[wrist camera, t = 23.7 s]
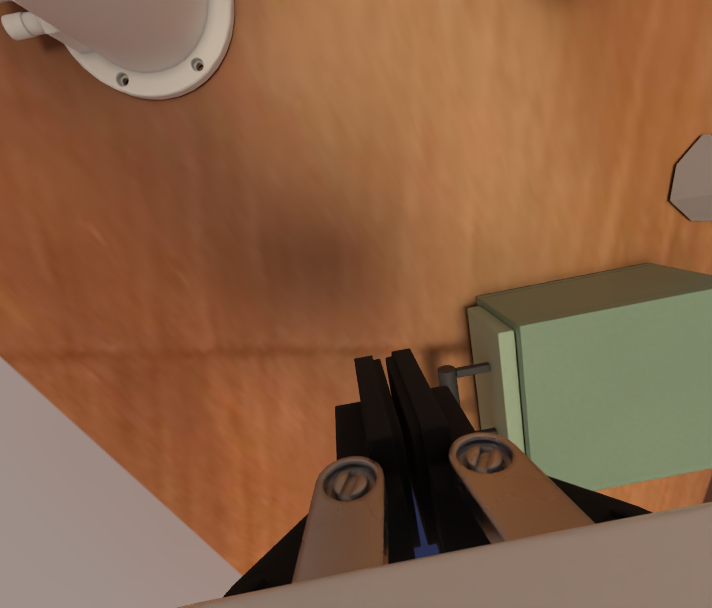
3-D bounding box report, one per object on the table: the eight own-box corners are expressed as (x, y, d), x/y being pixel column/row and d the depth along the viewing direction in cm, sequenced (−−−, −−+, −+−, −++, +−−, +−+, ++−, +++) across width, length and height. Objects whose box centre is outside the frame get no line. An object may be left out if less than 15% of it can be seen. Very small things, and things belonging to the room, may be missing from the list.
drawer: (440, 448, 37) (462, 500, 31) (420, 316, 34) (440, 344, 27) (631, 411, 37) (694, 455, 31) (630, 275, 34) (701, 293, 27)
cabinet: (491, 437, 38) (534, 502, 30) (476, 296, 35) (519, 326, 26) (647, 407, 38) (733, 464, 30) (648, 262, 34) (747, 281, 26)
